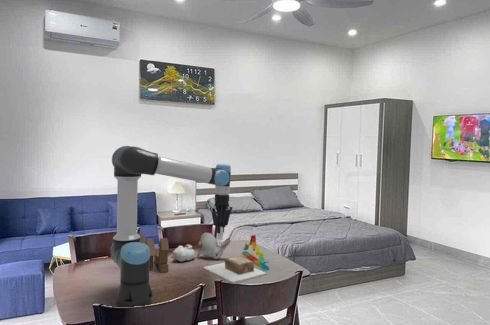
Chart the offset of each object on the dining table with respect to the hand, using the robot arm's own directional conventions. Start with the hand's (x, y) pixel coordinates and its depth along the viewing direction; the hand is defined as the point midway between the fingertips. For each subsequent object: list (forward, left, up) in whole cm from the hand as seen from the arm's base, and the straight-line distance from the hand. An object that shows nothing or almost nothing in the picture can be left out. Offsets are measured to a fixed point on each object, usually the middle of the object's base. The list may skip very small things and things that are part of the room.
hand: (219, 239), depth 190 cm
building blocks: (-28, +25, -18) cm, 42 cm away
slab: (+6, -4, -15) cm, 16 cm away
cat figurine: (-5, +28, -18) cm, 34 cm away
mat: (+8, -3, -18) cm, 20 cm away
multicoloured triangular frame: (+29, +4, -18) cm, 34 cm away
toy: (+11, +21, -18) cm, 30 cm away
